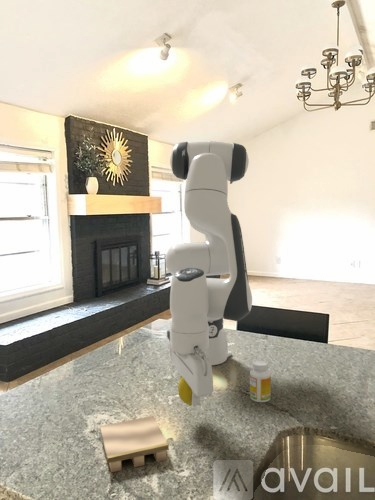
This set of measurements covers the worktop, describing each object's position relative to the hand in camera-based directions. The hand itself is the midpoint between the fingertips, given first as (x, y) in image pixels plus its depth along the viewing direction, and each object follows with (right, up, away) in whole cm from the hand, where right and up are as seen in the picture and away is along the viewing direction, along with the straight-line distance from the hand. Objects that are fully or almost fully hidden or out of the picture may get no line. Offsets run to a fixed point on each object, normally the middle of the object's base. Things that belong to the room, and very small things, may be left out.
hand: (190, 396), depth 92 cm
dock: (-12, -7, -9) cm, 17 cm away
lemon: (0, -2, 0) cm, 2 cm away
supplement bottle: (+18, -5, +12) cm, 23 cm away
